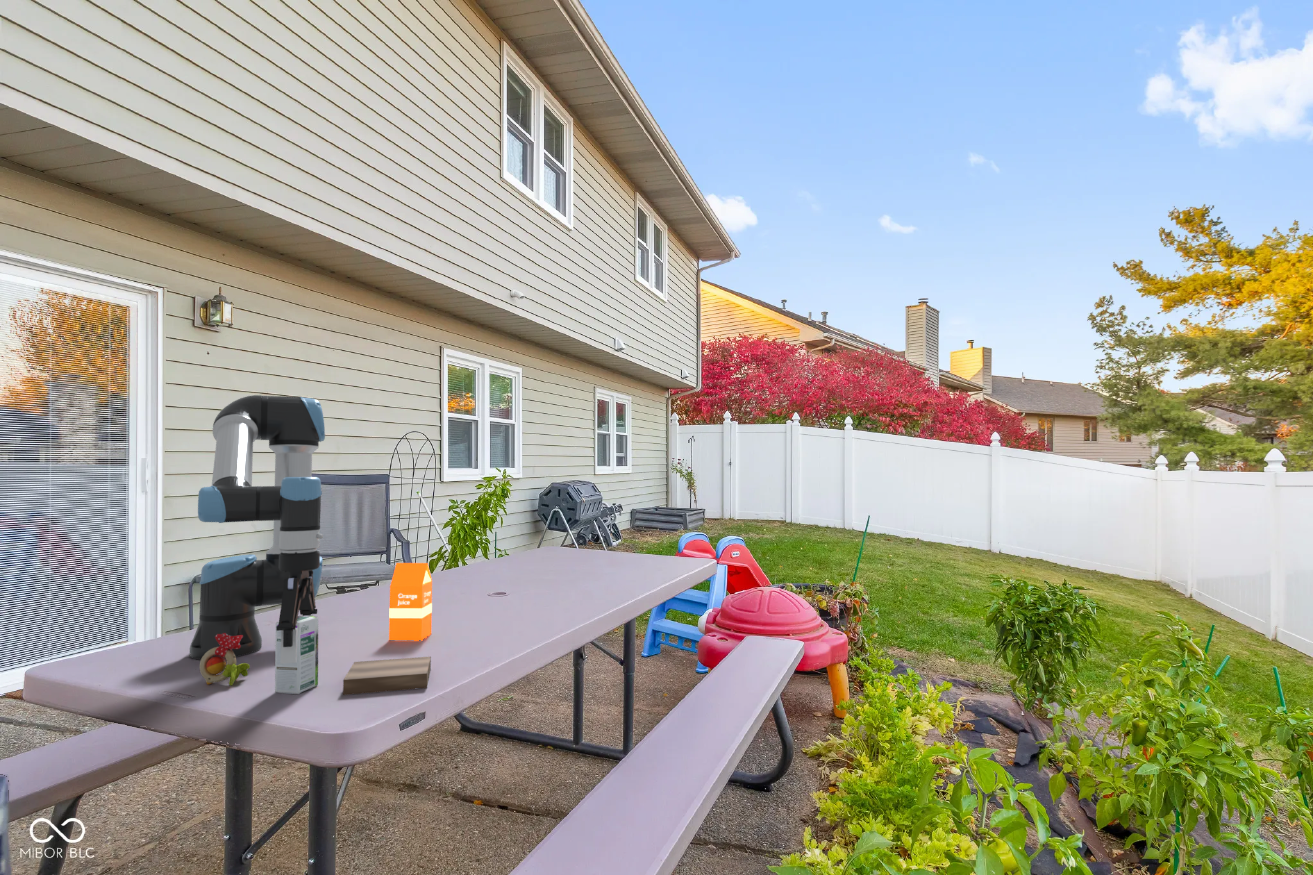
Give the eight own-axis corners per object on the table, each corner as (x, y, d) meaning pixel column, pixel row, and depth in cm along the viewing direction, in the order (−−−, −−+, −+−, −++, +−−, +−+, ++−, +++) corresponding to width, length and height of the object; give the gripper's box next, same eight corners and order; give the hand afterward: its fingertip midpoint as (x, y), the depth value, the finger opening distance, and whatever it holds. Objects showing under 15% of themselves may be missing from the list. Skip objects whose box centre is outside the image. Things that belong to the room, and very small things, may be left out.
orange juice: (421, 641, 177) (422, 565, 178) (388, 641, 177) (389, 564, 178) (431, 633, 184) (432, 560, 185) (400, 633, 185) (401, 560, 186)
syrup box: (298, 694, 135) (300, 621, 135) (273, 692, 136) (275, 620, 136) (318, 685, 140) (320, 615, 141) (293, 683, 141) (295, 614, 142)
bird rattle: (202, 699, 138) (245, 680, 139) (180, 650, 138) (224, 631, 139) (217, 689, 144) (259, 671, 145) (197, 642, 144) (239, 624, 145)
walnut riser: (354, 675, 147) (354, 661, 147) (430, 669, 151) (430, 656, 151) (343, 694, 134) (343, 679, 135) (426, 688, 139) (427, 673, 139)
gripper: (305, 556, 128) (302, 669, 127) (331, 544, 152) (329, 638, 151) (261, 558, 126) (258, 672, 125) (295, 545, 150) (292, 641, 149)
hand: (297, 654), depth 138 cm, fingers open, 13 cm apart
